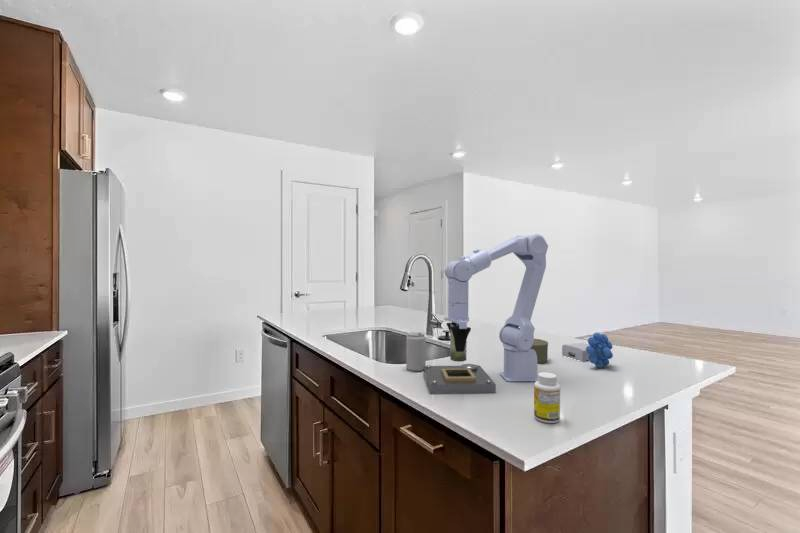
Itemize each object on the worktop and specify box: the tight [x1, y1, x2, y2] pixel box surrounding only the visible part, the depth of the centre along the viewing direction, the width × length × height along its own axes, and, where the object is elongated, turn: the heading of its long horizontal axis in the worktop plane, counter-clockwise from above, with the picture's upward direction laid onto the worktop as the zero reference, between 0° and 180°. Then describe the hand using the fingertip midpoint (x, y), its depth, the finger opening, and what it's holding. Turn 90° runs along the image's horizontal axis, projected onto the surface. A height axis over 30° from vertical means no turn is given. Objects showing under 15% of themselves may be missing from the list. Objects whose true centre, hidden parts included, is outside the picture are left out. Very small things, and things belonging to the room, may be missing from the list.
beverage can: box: [405, 331, 427, 372], centre depth 127 cm, size 6×6×12 cm
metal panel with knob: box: [422, 363, 497, 395], centre depth 113 cm, size 18×18×4 cm
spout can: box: [449, 324, 468, 363], centre depth 111 cm, size 5×5×10 cm
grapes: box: [586, 332, 614, 369], centre depth 128 cm, size 12×7×12 cm, turn 114°
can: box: [530, 338, 549, 365], centre depth 138 cm, size 12×12×7 cm
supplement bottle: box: [533, 371, 561, 424], centre depth 88 cm, size 6×6×10 cm
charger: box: [561, 342, 590, 362], centre depth 143 cm, size 5×9×15 cm
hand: (458, 349), depth 111 cm, fingers closed on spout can, 5 cm apart
